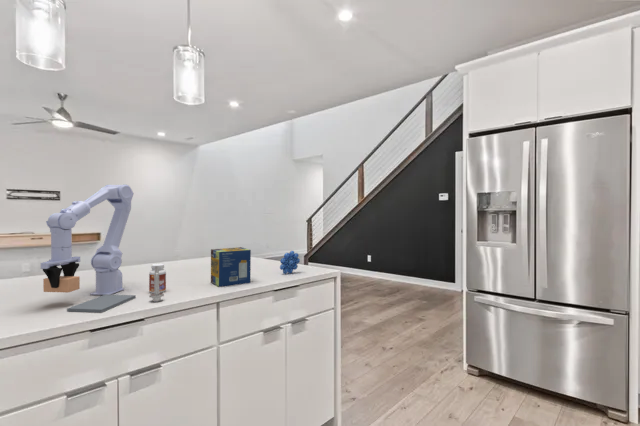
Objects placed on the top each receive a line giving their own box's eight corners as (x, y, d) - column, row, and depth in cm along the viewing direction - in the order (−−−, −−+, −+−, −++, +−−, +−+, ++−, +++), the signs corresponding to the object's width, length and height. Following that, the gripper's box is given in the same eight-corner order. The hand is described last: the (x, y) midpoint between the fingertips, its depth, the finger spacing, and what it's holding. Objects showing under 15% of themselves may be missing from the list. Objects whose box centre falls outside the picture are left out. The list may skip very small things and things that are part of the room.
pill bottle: (148, 294, 134) (148, 266, 134) (149, 290, 139) (149, 263, 139) (166, 292, 136) (166, 265, 136) (165, 289, 142) (166, 263, 142)
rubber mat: (105, 297, 129) (105, 294, 129) (135, 297, 128) (135, 295, 128) (67, 311, 111) (66, 308, 111) (101, 312, 110) (101, 309, 110)
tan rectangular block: (55, 288, 121) (55, 275, 121) (79, 289, 121) (79, 276, 121) (43, 291, 116) (43, 278, 116) (68, 292, 116) (68, 279, 116)
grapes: (295, 271, 185) (295, 249, 184) (301, 273, 179) (301, 250, 179) (276, 273, 178) (276, 250, 178) (282, 275, 172) (282, 252, 172)
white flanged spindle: (166, 299, 126) (158, 303, 122) (155, 298, 127) (146, 302, 122) (166, 264, 126) (158, 267, 121) (155, 264, 127) (146, 266, 122)
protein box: (210, 282, 155) (210, 249, 154) (241, 278, 164) (241, 247, 164) (218, 287, 146) (218, 251, 146) (251, 282, 156) (251, 249, 155)
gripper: (67, 244, 126) (67, 280, 126) (31, 249, 111) (32, 290, 111) (85, 244, 125) (85, 281, 125) (51, 249, 111) (52, 291, 111)
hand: (61, 285), depth 118 cm, fingers closed on tan rectangular block, 5 cm apart
